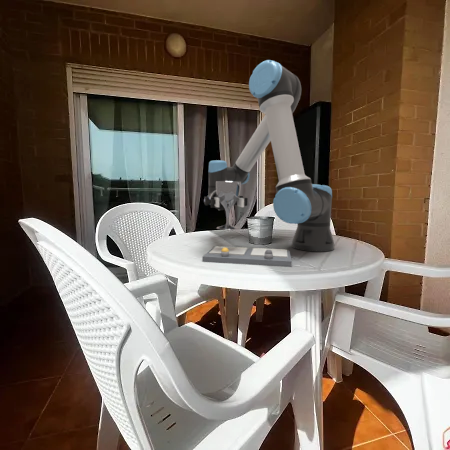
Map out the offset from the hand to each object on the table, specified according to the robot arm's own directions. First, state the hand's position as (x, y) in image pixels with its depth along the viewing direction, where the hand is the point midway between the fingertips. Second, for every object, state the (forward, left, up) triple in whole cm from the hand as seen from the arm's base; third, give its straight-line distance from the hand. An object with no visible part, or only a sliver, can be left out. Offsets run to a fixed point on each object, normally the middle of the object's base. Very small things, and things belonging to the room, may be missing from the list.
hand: (230, 202), depth 82 cm
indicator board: (-5, -3, -17) cm, 18 cm away
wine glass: (+2, -5, -9) cm, 10 cm away
